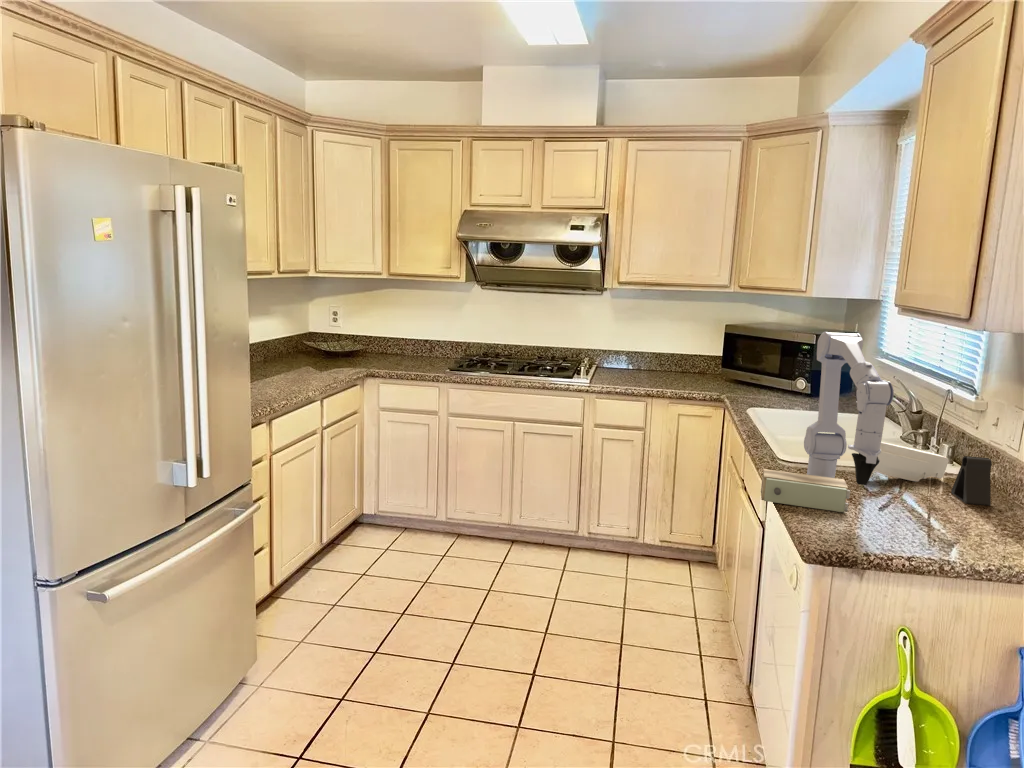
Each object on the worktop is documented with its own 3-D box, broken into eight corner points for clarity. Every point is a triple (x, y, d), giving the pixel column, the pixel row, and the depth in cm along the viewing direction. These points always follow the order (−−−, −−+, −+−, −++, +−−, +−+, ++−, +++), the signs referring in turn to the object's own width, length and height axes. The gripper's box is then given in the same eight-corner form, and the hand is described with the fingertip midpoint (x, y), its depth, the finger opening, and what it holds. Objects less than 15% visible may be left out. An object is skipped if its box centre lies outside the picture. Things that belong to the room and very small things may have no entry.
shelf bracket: (854, 477, 199) (867, 438, 197) (924, 492, 204) (938, 454, 202) (866, 483, 194) (880, 443, 192) (938, 499, 199) (952, 459, 197)
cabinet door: (764, 499, 176) (766, 478, 175) (847, 511, 170) (850, 489, 169) (764, 502, 174) (766, 480, 173) (848, 514, 168) (851, 491, 167)
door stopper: (990, 506, 179) (998, 463, 177) (965, 503, 180) (973, 461, 178) (974, 494, 188) (981, 453, 185) (950, 492, 189) (957, 451, 186)
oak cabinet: (760, 491, 183) (763, 468, 182) (840, 502, 177) (843, 479, 176) (761, 499, 177) (764, 476, 175) (844, 511, 170) (847, 487, 169)
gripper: (846, 421, 169) (839, 472, 171) (855, 435, 155) (847, 490, 158) (877, 424, 167) (870, 476, 169) (889, 439, 153) (881, 495, 156)
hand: (861, 483), depth 163 cm, fingers closed
